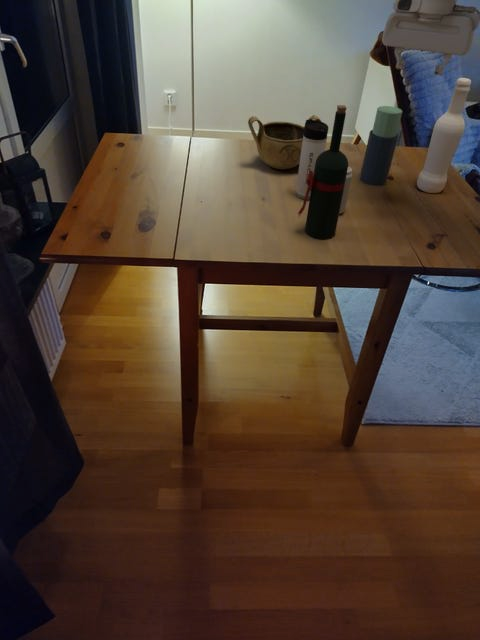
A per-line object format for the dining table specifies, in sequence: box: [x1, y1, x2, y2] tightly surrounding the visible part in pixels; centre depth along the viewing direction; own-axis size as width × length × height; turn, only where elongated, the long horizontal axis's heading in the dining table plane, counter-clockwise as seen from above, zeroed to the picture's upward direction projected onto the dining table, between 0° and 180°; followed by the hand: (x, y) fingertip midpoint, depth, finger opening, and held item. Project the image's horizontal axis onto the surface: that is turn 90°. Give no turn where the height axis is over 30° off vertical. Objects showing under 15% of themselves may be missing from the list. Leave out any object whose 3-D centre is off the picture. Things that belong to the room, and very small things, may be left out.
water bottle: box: [359, 129, 399, 186], centre depth 135 cm, size 8×8×18 cm
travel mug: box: [295, 118, 329, 201], centre depth 125 cm, size 6×7×20 cm
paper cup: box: [371, 105, 403, 138], centre depth 130 cm, size 7×7×6 cm
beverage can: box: [339, 165, 353, 215], centre depth 121 cm, size 6×6×12 cm
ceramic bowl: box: [247, 114, 322, 170], centre depth 142 cm, size 22×17×15 cm
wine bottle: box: [297, 104, 349, 241], centre depth 106 cm, size 8×10×30 cm
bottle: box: [416, 77, 472, 194], centre depth 129 cm, size 8×8×30 cm
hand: (418, 71), depth 113 cm, fingers open, 8 cm apart
